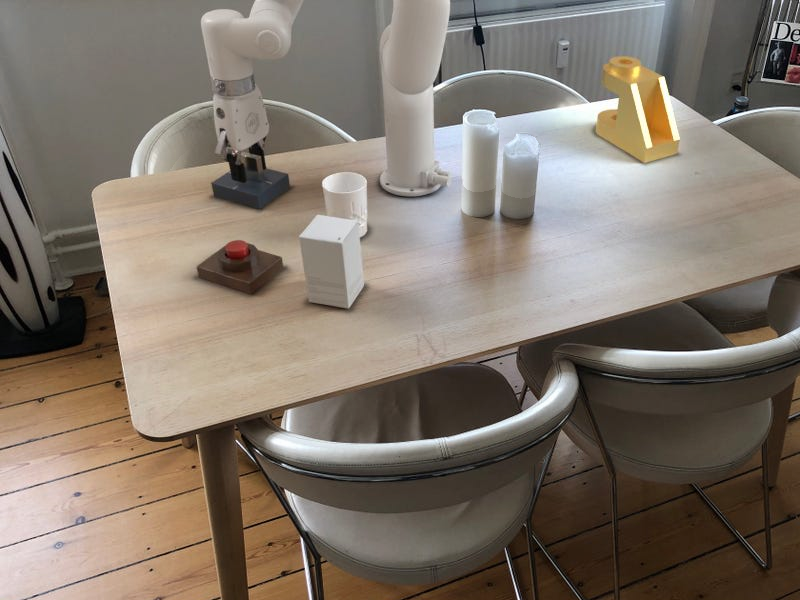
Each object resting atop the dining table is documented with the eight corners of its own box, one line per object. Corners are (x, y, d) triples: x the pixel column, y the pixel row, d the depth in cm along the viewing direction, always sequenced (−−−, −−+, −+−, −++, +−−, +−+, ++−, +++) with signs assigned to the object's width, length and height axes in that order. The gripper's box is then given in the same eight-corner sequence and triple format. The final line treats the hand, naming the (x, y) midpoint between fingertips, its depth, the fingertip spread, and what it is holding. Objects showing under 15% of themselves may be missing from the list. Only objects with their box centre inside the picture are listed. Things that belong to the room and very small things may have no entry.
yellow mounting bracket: (587, 128, 191) (595, 58, 181) (619, 120, 195) (628, 51, 184) (644, 163, 178) (656, 90, 168) (676, 153, 182) (690, 81, 171)
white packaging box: (365, 285, 140) (360, 219, 132) (348, 310, 135) (341, 243, 127) (325, 278, 142) (317, 212, 134) (306, 302, 136) (297, 236, 128)
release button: (253, 251, 141) (251, 243, 140) (240, 262, 139) (238, 253, 138) (236, 246, 142) (234, 238, 141) (222, 256, 140) (220, 248, 139)
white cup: (349, 216, 158) (345, 167, 152) (379, 230, 154) (375, 181, 148) (318, 232, 153) (312, 183, 147) (348, 247, 150) (343, 197, 143)
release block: (283, 267, 144) (280, 247, 142) (251, 294, 138) (247, 274, 135) (232, 251, 148) (228, 232, 145) (198, 277, 141) (194, 257, 139)
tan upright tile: (264, 179, 162) (260, 154, 159) (260, 182, 161) (256, 157, 158) (239, 173, 164) (235, 148, 161) (235, 176, 163) (230, 151, 160)
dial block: (290, 187, 167) (288, 172, 165) (259, 209, 159) (256, 194, 157) (246, 175, 170) (243, 161, 168) (213, 196, 163) (210, 182, 161)
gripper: (219, 104, 144) (237, 197, 155) (279, 71, 156) (291, 161, 167) (185, 95, 146) (205, 188, 158) (246, 64, 158) (260, 153, 170)
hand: (249, 173), depth 162 cm, fingers open, 5 cm apart
